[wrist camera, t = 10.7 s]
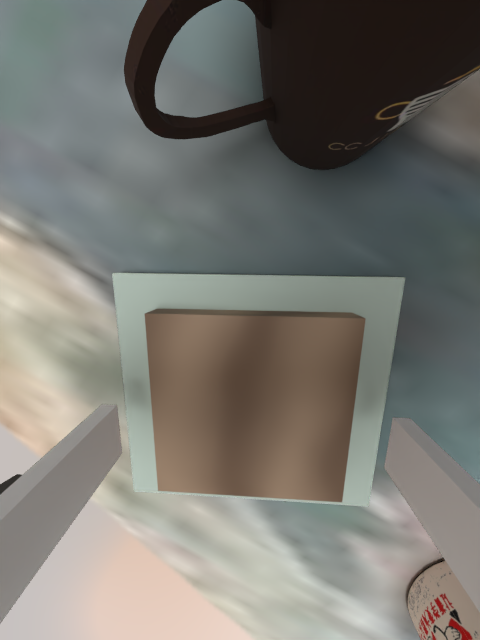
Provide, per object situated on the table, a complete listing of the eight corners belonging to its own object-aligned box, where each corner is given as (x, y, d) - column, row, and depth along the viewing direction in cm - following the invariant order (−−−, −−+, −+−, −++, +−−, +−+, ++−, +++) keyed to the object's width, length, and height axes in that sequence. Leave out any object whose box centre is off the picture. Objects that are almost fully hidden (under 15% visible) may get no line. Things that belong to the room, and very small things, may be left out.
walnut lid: (352, 312, 13) (365, 318, 11) (333, 478, 15) (342, 502, 14) (157, 308, 14) (144, 313, 12) (167, 469, 16) (158, 491, 14)
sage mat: (394, 276, 13) (405, 277, 12) (361, 492, 17) (368, 506, 16) (121, 272, 14) (112, 273, 13) (140, 479, 17) (134, 491, 16)
